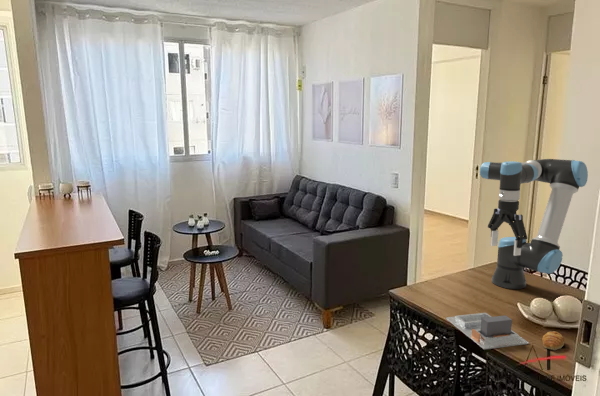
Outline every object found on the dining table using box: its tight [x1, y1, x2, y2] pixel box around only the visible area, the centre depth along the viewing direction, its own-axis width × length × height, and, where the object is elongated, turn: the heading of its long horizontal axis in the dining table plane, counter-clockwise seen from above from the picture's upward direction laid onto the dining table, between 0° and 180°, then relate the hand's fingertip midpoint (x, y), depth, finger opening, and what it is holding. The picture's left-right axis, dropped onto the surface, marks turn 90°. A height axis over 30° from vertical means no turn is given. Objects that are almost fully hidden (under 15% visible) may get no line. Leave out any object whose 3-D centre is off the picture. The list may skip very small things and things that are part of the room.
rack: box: [445, 312, 530, 351], centre depth 160 cm, size 18×24×4 cm
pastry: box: [541, 331, 566, 351], centre depth 150 cm, size 9×7×4 cm
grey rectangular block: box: [480, 314, 513, 337], centre depth 154 cm, size 10×4×7 cm, turn 102°
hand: (505, 250), depth 175 cm, fingers open, 13 cm apart
